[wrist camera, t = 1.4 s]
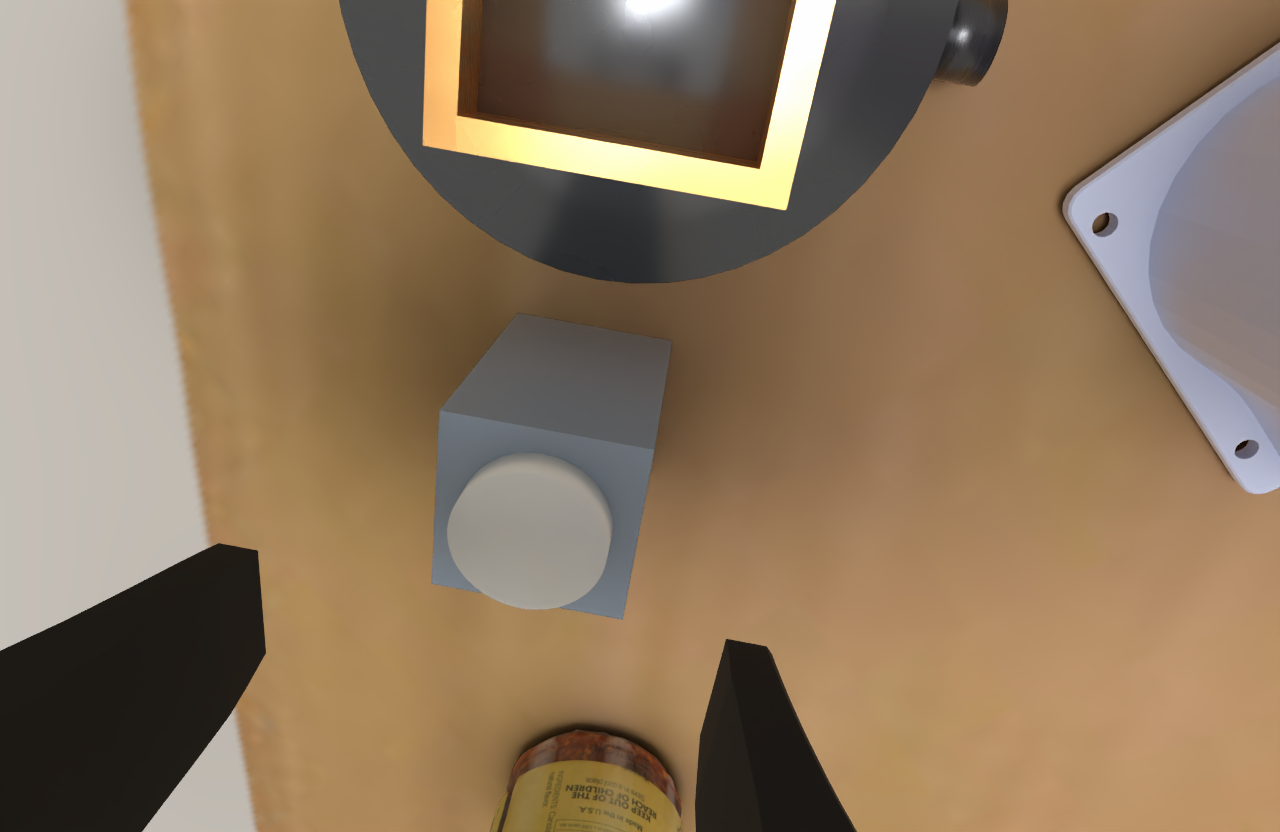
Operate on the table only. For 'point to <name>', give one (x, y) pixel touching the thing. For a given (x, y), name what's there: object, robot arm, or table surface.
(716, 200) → the grey disc square socket
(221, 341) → the table surface
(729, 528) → the table surface
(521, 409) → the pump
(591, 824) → the sauce bottle
